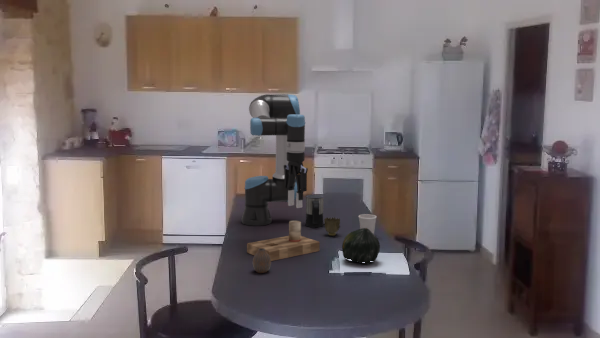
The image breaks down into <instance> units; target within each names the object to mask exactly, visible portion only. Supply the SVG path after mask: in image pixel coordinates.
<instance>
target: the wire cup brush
mask: <svg viewBox="0 0 600 338" xmlns="http://www.w3.org/2000/svg"><path fill="white" fill-rule="evenodd" d="M323 223H324V224H325V225H324V229H325V231H326V232H327V235H328V236H329V237H336V235H337V233H338V231H339V229H340V224H341V219H340V217H335V216H334V217H325V218H323Z"/></svg>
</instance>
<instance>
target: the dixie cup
mask: <svg viewBox="0 0 600 338" xmlns="http://www.w3.org/2000/svg"><path fill="white" fill-rule="evenodd" d="M357 217H358V220H359V229H362V228H367V229H369V230H370V231H371V232H372V233H373V234H374V235H375V228H376V221H377V215H375V214H368V213H366V214H365V213H362V214H359V215H358V216H357Z"/></svg>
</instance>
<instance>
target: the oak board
mask: <svg viewBox="0 0 600 338" xmlns="http://www.w3.org/2000/svg"><path fill="white" fill-rule="evenodd" d="M320 246H321V245H320V241H319V240H315V239H311V238H308V237H305V236H304V235H303V236H302V235H301V241H299V242H291V241H289V235H285V236H280V237H274V238H269V239H263V240H258V241H253V242H252V241H251V242H247V243H246V253H247V254H250V255H252V256H254V255H255V254H256V253H257V251H258V249H259V248H264V249H265V250H266V252H267V253H268V254H269V256H270V258H271V262H272V261H277V260H283V259H284V260H285V259H288V258H292V257H297V256H302V255H308V254H313V253H317V252H320Z"/></svg>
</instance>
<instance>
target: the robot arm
mask: <svg viewBox="0 0 600 338" xmlns="http://www.w3.org/2000/svg"><path fill="white" fill-rule="evenodd" d="M299 103H300V102H299V98H298V96H297V95H296V94H288V93H287V94H284V93H283V94H282V93H281V94H269V93H268V94H261V95H259V96H257V97H256V98H254V99H253V100H252V101H251V102H250V103H249V106H248V111H249V112H248V113H249V115H250V116H251V118H250V120H249V121H250V123H249V126H250V127H249V129H250V131H249V132H250V135H251V136H259V137H260V136H275V172H274V173H273V174H272V178H269V177H268V175H257V176H252V177H248V178H246V180H245V181H244V209H243V213H242V216H241V224H242V225H246V226H259V227H260V226H266V225H270V224H272V215H271V213H270V209H269V203H283V202H285V203H287V206H288V207H291V206H296V207H295V208H296V209H300V208H303V200H304V193H305V192H307V190H308V188H307V187H308V186H307V185H308V184H307V183H308V175H307V174H308V171H309V170H308V169H309V168H308V167H305V166H304V163H303V162H304V161H305V150H306V149H305V147H306V146H305V145H306V139H305V136H306V135H305V134H306V118H305V115H304V114H301V110H300V109H301V108H300V104H299ZM295 200H296V201H295Z"/></svg>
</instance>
